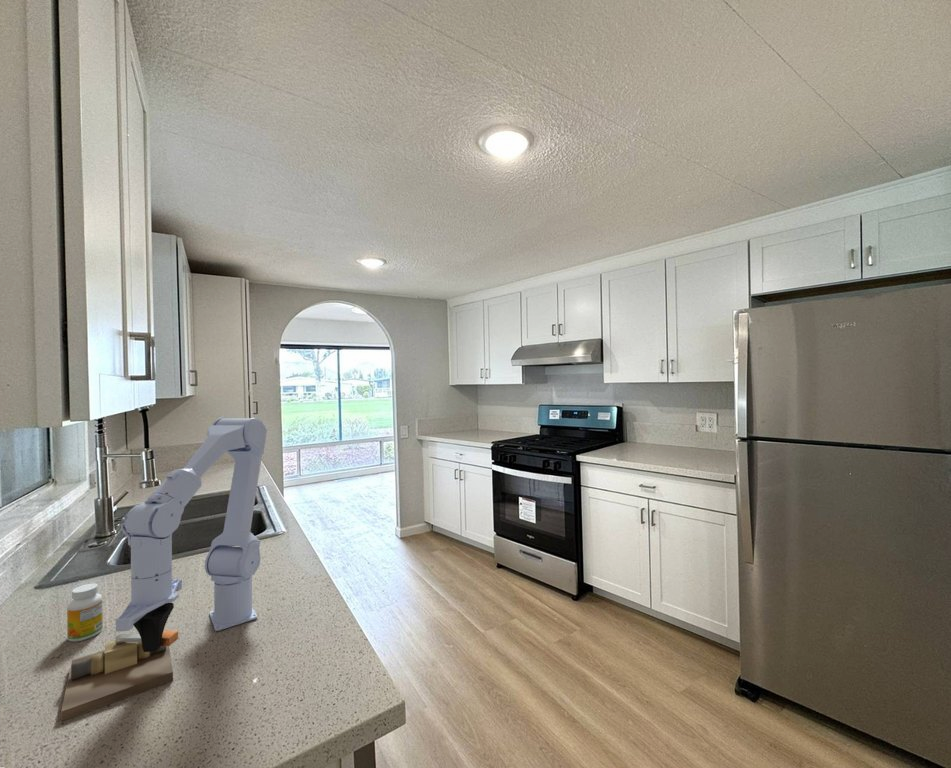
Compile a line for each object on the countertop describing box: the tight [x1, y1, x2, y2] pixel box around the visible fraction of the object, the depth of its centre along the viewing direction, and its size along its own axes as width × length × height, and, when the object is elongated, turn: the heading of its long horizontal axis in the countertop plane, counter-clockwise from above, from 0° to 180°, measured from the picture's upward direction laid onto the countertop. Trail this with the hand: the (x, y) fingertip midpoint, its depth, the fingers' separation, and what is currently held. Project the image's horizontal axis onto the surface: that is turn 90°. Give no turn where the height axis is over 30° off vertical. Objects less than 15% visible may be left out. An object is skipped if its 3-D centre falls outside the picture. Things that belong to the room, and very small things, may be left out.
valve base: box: [60, 639, 174, 722], centre depth 76 cm, size 16×14×5 cm
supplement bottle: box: [66, 583, 104, 643], centre depth 88 cm, size 5×5×10 cm
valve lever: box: [114, 630, 179, 647], centre depth 77 cm, size 10×2×1 cm, turn 88°
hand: (152, 649), depth 75 cm, fingers closed, pressing on valve lever
